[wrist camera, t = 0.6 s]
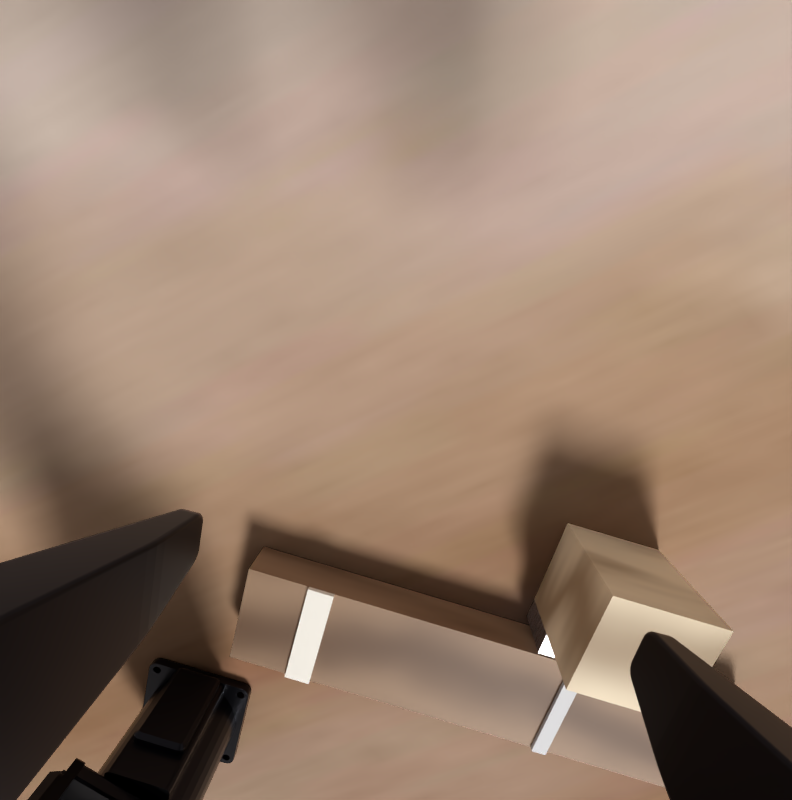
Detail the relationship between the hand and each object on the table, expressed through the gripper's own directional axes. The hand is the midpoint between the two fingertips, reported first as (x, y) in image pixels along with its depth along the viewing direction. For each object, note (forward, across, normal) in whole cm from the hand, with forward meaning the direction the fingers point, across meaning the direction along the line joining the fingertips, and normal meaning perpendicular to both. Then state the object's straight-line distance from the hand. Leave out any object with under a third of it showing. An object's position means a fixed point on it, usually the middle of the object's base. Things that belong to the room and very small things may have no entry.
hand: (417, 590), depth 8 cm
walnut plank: (+13, -7, +14) cm, 20 cm away
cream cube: (+13, -11, +6) cm, 19 cm away
